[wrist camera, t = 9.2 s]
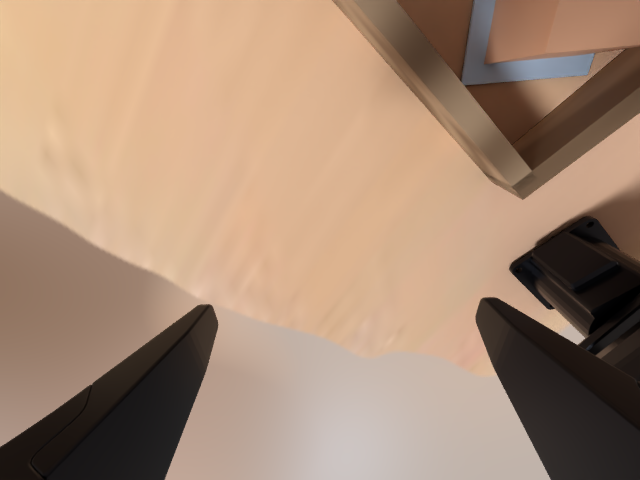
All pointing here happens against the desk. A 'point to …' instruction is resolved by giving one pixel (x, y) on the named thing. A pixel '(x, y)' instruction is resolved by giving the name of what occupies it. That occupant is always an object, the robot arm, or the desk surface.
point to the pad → (513, 70)
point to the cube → (561, 28)
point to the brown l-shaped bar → (472, 121)
